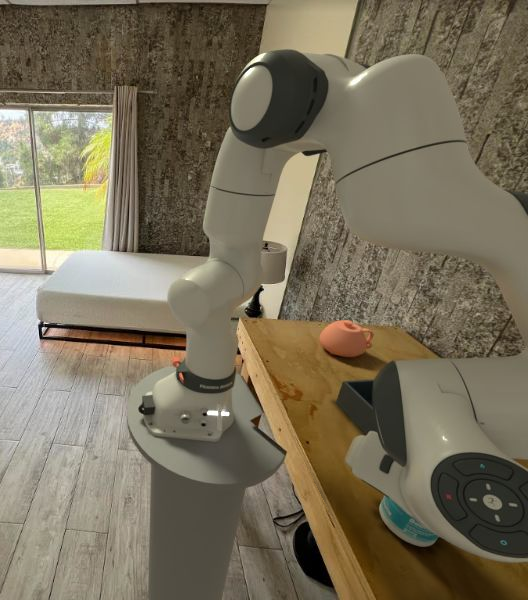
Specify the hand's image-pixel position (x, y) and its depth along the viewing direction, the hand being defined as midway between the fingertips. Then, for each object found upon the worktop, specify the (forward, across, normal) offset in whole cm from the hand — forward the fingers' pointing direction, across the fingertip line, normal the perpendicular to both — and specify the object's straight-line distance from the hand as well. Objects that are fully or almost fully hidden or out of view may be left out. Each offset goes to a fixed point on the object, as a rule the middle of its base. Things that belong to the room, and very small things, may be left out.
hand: (428, 494), depth 46 cm
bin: (+27, +9, -12) cm, 31 cm away
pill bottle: (+10, 0, +6) cm, 12 cm away
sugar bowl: (+46, +23, -30) cm, 60 cm away
